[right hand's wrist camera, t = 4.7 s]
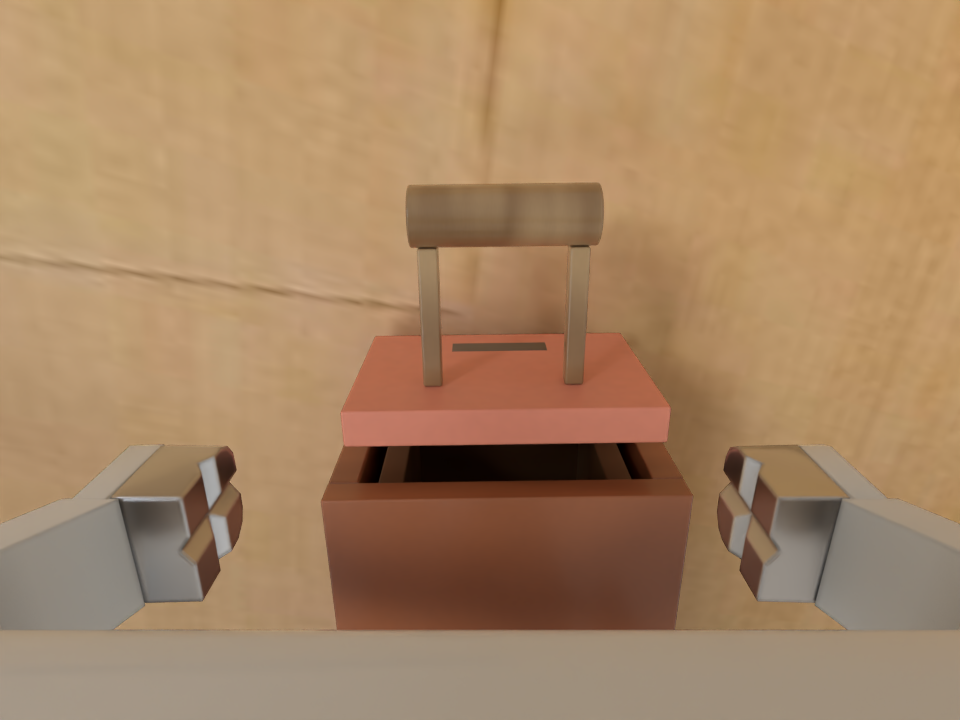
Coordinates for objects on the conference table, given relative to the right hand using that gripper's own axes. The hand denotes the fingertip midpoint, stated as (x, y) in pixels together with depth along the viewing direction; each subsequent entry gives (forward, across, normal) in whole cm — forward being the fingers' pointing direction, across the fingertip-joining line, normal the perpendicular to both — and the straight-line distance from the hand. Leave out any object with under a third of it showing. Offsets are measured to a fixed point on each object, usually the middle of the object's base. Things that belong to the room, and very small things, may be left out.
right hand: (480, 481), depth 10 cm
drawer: (+14, +1, -8) cm, 16 cm away
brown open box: (+15, +1, -14) cm, 21 cm away
